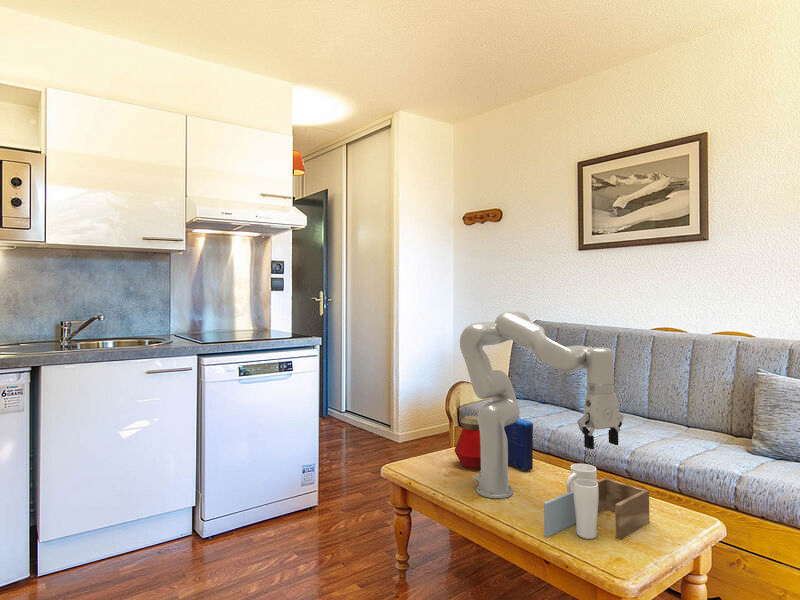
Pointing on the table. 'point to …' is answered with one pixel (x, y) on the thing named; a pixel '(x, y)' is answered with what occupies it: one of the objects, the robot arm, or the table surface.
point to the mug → (580, 474)
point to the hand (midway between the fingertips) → (601, 446)
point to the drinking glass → (586, 507)
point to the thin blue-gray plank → (559, 514)
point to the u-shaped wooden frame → (624, 505)
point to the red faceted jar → (469, 444)
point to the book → (520, 444)
